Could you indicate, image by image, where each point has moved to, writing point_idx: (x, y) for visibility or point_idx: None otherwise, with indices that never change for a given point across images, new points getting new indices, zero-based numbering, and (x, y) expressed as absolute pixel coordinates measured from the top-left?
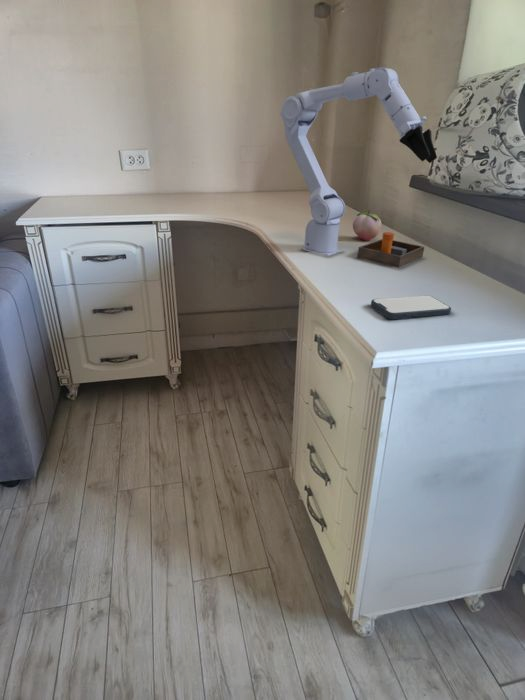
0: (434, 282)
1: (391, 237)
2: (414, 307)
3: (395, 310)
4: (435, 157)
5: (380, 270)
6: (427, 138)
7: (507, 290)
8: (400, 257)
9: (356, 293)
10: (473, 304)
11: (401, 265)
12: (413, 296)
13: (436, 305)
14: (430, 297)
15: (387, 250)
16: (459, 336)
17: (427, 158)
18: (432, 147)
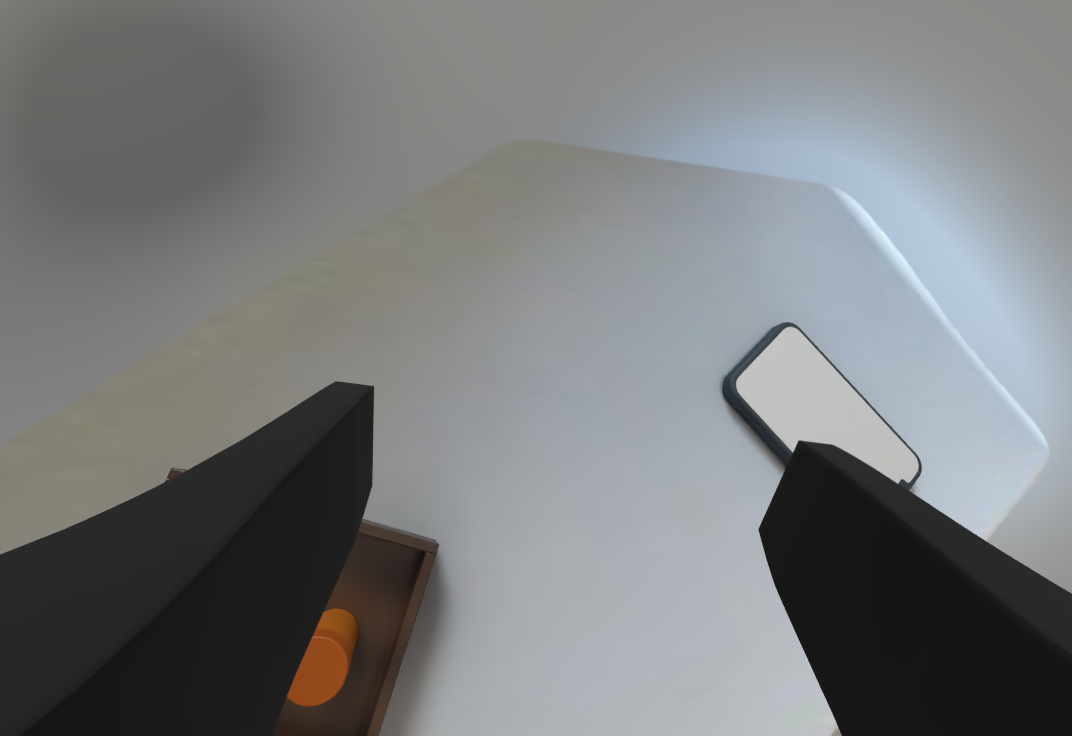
0: (534, 386)
1: (339, 639)
2: (849, 413)
3: (901, 456)
4: (372, 402)
5: (491, 607)
6: (145, 709)
7: (495, 164)
8: (438, 544)
9: (781, 610)
10: (677, 267)
11: (414, 534)
12: (768, 428)
13: (797, 359)
14: (747, 380)
15: (352, 632)
16: (890, 303)
17: (353, 528)
18: (298, 476)
